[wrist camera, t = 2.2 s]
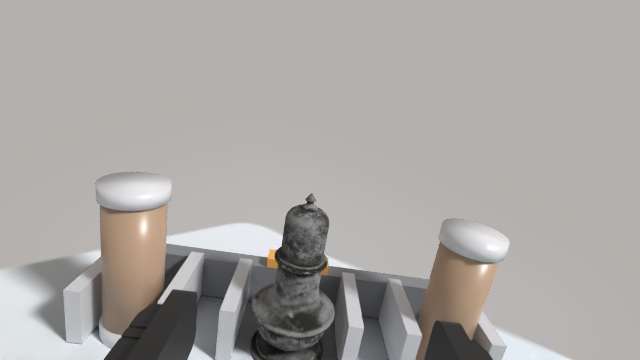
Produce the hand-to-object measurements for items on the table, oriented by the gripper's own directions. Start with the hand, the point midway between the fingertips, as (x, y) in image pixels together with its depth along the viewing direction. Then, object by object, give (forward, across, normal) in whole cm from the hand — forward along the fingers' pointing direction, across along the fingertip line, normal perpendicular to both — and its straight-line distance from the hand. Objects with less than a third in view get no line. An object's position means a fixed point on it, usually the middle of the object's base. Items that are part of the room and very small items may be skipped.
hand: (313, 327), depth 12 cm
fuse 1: (+12, +12, +11) cm, 20 cm away
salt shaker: (+12, 0, +11) cm, 16 cm away
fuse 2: (+12, -10, +11) cm, 19 cm away
